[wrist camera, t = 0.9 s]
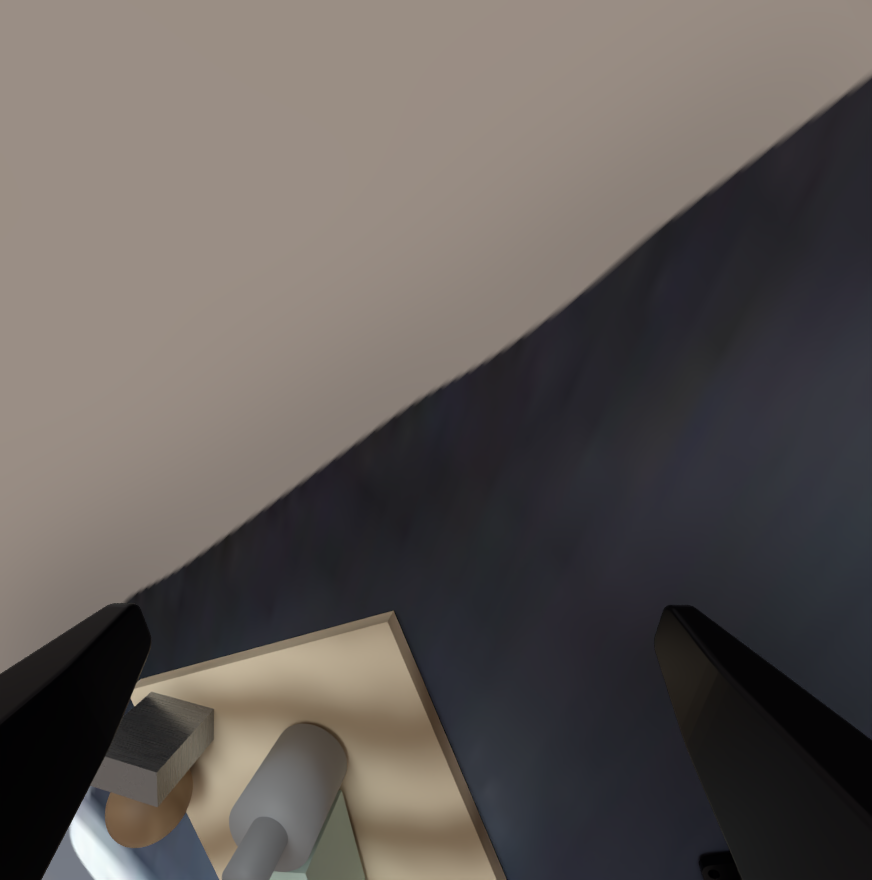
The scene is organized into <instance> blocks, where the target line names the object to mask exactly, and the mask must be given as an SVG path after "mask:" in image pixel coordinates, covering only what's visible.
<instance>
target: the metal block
mask: <svg viewBox="0 0 872 880" xmlns="http://www.w3.org/2000/svg"><path fill="white" fill-rule="evenodd" d="M213 740H214V709H213V708H209V707H206V706H202V705H198V704H195V703H191V702H187V701H184V700H180V699H177V698H173V697H169V696H166V695H162V694H158V693H155V692H150V693H149V694H148V695H147V696H146V697H145V698H144V699H142V700H141V701H140V702H139V703H138V704H137V705H136V706H135V707H133V708H132V709H131V710H130V711H129V712H128V713H127V714H126V715H124V716H123V718H122V720H121V722H120V725H119V727H118V730H117V732H116V734H115V737H114V739H113V741H112V743H111V746H110V748H109V750H108V752H107V754H106V756H105V758H104V760H103V762H102V764H101V766H100V768H99V770H98V772H97V773H96V775H95V777H94V779H93V781H92V783H91V785H90V786H93V787H97V788H100V789H103V790H106V791H109V792H112V793H115V794H118V795H121V796H124V797H127V798H130V799H133V800H136V801H139V802H143V803H146V804H149V805H152V806H155V807H158V806H159V805H160V804H161V803H162V801H163V800H164V799H165V798H166V797H167V795H168V794H169V793H170V792H171V791H172V789H173V788H174V787H175V786H176V785H177V783H178V782H179V781H180V780H181V778H182V777H183V776H184V775H185V774H186V772H187V771H188V770H189V769H190V768H191V766H192V765H193V764H194V763H195V762H196V760H197V759H198V758H199V757H200V755H201V754H202V753H203V752H204V751H205V749H206V748H207V747H208V746H209V745H210V743H211V742H212V741H213Z"/></svg>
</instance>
